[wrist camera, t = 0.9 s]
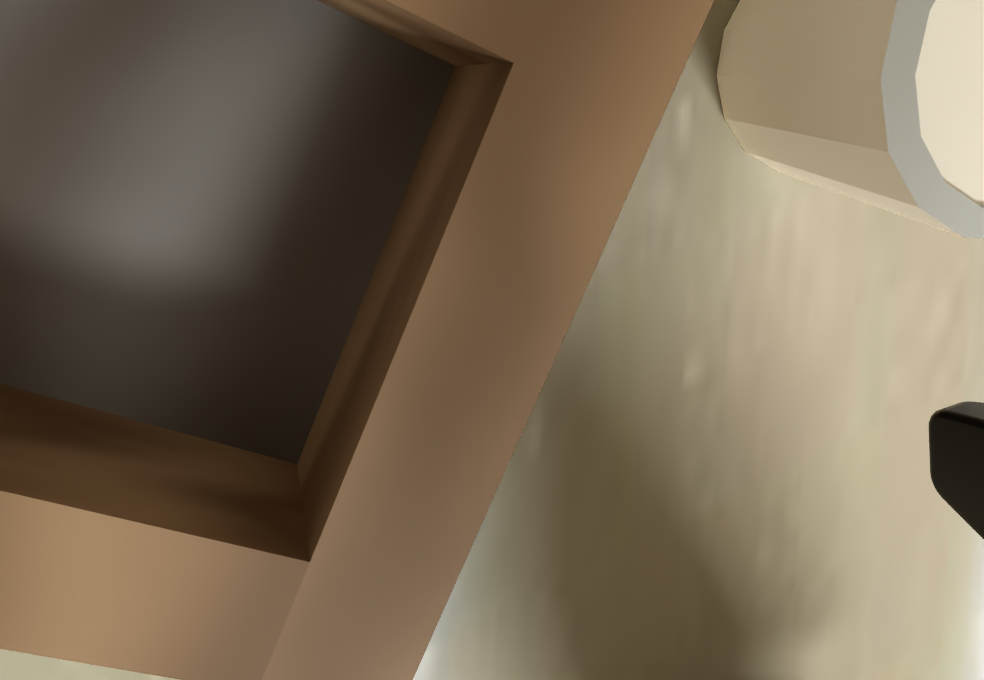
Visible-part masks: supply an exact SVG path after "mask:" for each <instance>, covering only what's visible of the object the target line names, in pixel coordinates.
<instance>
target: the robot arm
mask: <svg viewBox="0 0 984 680" xmlns="http://www.w3.org/2000/svg"><path fill="white" fill-rule="evenodd" d="M929 448H930V473H931V478H932V482H933V484H934V486H935V489H936V490H937V492H938V493H939V495H940V496H941V497H942V498H943V499H944V500H945V501H946V502H947V503H948V504H949V505H950V506H951V507H952V508H953V509H954V510H955V511H956V512H957V513H958V514H959V515H960V516H961V517H962V518H963V519H964V520H965V521H966V522H967V523H968V524H969V525H970V526H971V527H972V528H973V529H974V530H975V531H976V532H977V533H978V534H979V535H980V536H981V537H982V538H983V539H984V403H980V402H961V403H958V404H955V405H952V406H949V407H947V408H944V409H941V410H938V411H936V412H935V413H934V414H933V415H932V416H931V418H930V421H929Z"/></svg>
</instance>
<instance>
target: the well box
mask: <svg viewBox="0 0 984 680" xmlns="http://www.w3.org/2000/svg"><path fill="white" fill-rule="evenodd" d="M713 2H714V0H0V649H5V650H11V651H17V652H23V653H29V654H34V655H40V656H46V657H52V658H58V659H64V660H69V661H75V662H81V663H87V664H93V665H99V666H104V667H110V668H116V669H122V670H128V671H134V672H139V673H145V674H151V675H157V676H163V677H169V678H174V679H180V680H413V677H414V675H415V673H416V671H417V668H418V666H419V664H420V662H421V659H422V657H423V655H424V653H425V650H426V648H427V646H428V644H429V641H430V639H431V637H432V635H433V632H434V630H435V628H436V626H437V623H438V621H439V619H440V617H441V614H442V612H443V610H444V608H445V605H446V603H447V601H448V599H449V596H450V594H451V592H452V589H453V587H454V585H455V583H456V580H457V578H458V576H459V574H460V571H461V569H462V567H463V565H464V562H465V560H466V558H467V556H468V553H469V551H470V549H471V547H472V544H473V542H474V540H475V538H476V535H477V533H478V531H479V529H480V526H481V524H482V522H483V520H484V517H485V515H486V513H487V511H488V508H489V506H490V504H491V502H492V499H493V497H494V495H495V493H496V490H497V488H498V486H499V484H500V481H501V479H502V477H503V475H504V472H505V470H506V468H507V466H508V463H509V461H510V459H511V457H512V454H513V452H514V450H515V448H516V445H517V443H518V441H519V439H520V436H521V434H522V432H523V430H524V427H525V425H526V423H527V421H528V418H529V416H530V414H531V412H532V409H533V407H534V405H535V403H536V400H537V398H538V396H539V394H540V391H541V389H542V387H543V384H544V382H545V380H546V378H547V375H548V373H549V371H550V369H551V366H552V364H553V362H554V360H555V357H556V355H557V353H558V351H559V348H560V346H561V344H562V342H563V339H564V337H565V335H566V333H567V330H568V328H569V326H570V324H571V321H572V319H573V317H574V315H575V312H576V310H577V308H578V306H579V303H580V301H581V299H582V297H583V294H584V292H585V290H586V288H587V285H588V283H589V281H590V279H591V276H592V274H593V272H594V270H595V267H596V265H597V263H598V261H599V258H600V256H601V254H602V252H603V249H604V247H605V245H606V243H607V240H608V238H609V236H610V234H611V231H612V229H613V227H614V225H615V222H616V220H617V218H618V216H619V213H620V211H621V209H622V207H623V204H624V202H625V200H626V198H627V195H628V193H629V191H630V189H631V186H632V184H633V182H634V179H635V177H636V175H637V173H638V170H639V168H640V166H641V164H642V161H643V159H644V157H645V155H646V152H647V150H648V148H649V146H650V143H651V141H652V139H653V137H654V134H655V132H656V130H657V128H658V125H659V123H660V121H661V119H662V116H663V114H664V112H665V110H666V107H667V105H668V103H669V101H670V98H671V96H672V94H673V92H674V89H675V87H676V85H677V83H678V80H679V78H680V76H681V74H682V71H683V69H684V67H685V65H686V62H687V60H688V58H689V56H690V53H691V51H692V49H693V47H694V44H695V42H696V40H697V38H698V35H699V33H700V31H701V29H702V26H703V24H704V22H705V20H706V17H707V15H708V13H709V11H710V8H711V6H712V4H713Z"/></svg>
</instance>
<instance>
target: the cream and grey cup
mask: <svg viewBox="0 0 984 680" xmlns="http://www.w3.org/2000/svg"><path fill="white" fill-rule="evenodd" d="M716 76H717V82H718V88H719V93H720V99H721V104H722V110H723V115H724V119H725V121H726V122H727V124H728V126H729V127H730V129H731V130H732V132H733V134H734V135H735V137H736V138H737V140H738V141H739V143H740V145H741V146H742V148H743V149H744V151H745V152H746V153H748V154H749V155H751V156H753V157H754V158H756V159H757V160H759V161H760V162H762V163H764V164H765V165H767V166H768V167H770V168H772V169H773V170H775V171H777V172H780V173H783V174H786V175H788V176H791V177H794V178H797V179H800V180H803V181H805V182H808V183H811V184H814V185H817V186H820V187H822V188H825V189H828V190H831V191H834V192H837V193H839V194H842V195H845V196H848V197H851V198H853V199H856V200H859V201H862V202H865V203H868V204H870V205H873V206H876V207H879V208H882V209H885V210H887V211H890V212H893V213H896V214H899V215H902V216H904V217H907V218H910V219H913V220H916V221H918V222H921V223H924V224H927V225H930V226H933V227H935V228H938V229H941V230H944V231H947V232H950V233H952V234H955V235H958V236H961V237H964V238H977V239H984V0H740V1H739V3H738V5H737V7H736V9H735V11H734V13H733V14H732V16H731V18H730V20H729V22H728V24H727V26H726V27H725V29H724V33H723V39H722V45H721V51H720V57H719V63H718V69H717V75H716Z"/></svg>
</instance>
